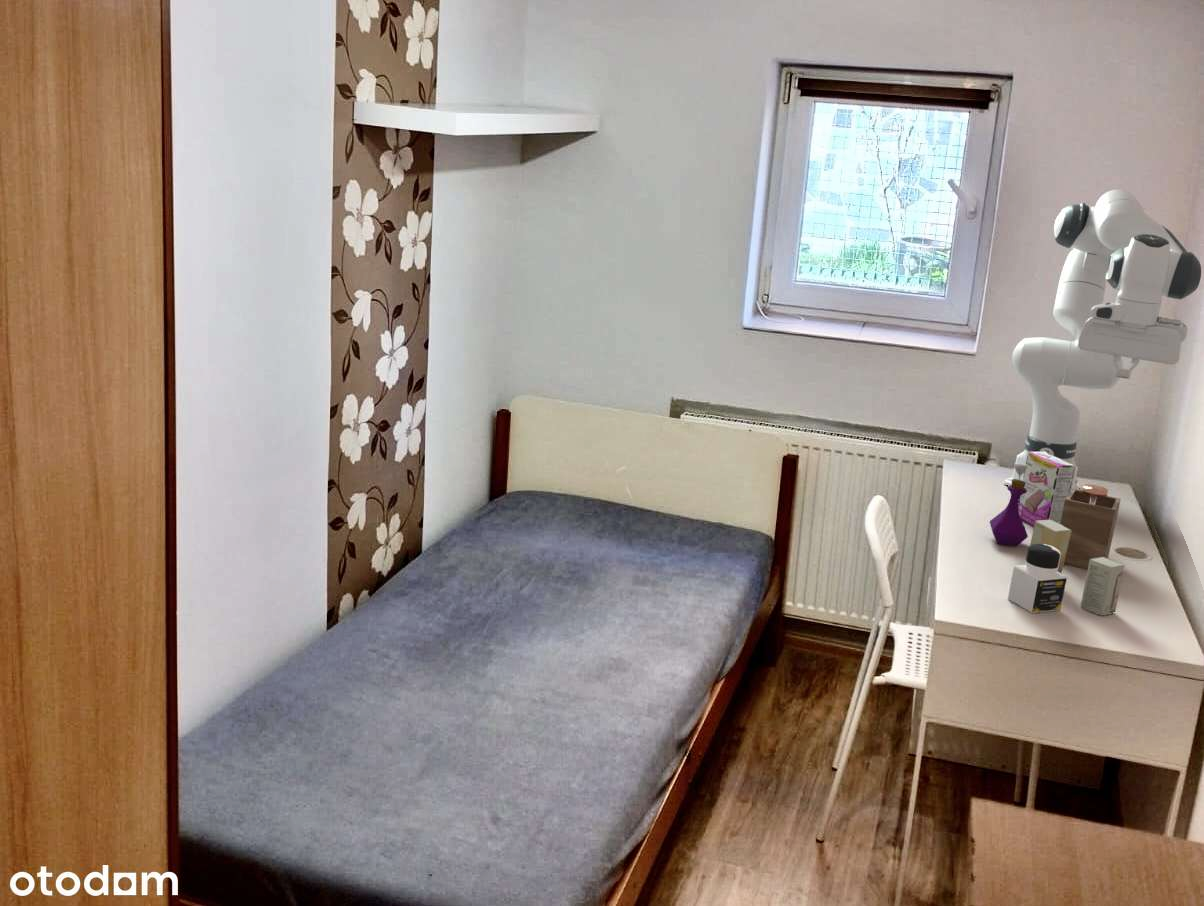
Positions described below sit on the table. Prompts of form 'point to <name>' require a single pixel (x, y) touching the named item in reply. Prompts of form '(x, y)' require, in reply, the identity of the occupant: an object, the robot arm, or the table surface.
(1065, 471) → the candy bar box
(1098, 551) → the wooden box
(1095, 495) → the table lamp
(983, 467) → the table surface
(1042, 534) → the skincare box
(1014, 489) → the perfume bottle
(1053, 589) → the medicine bottle
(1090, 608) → the skincare box
